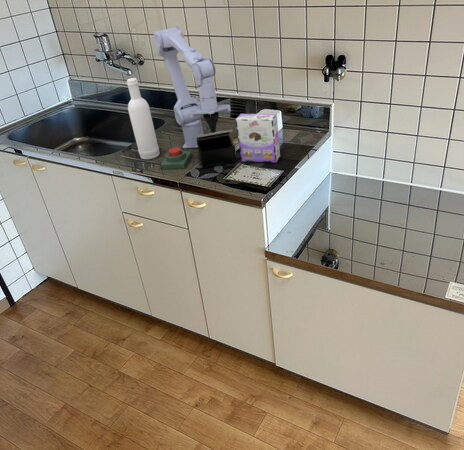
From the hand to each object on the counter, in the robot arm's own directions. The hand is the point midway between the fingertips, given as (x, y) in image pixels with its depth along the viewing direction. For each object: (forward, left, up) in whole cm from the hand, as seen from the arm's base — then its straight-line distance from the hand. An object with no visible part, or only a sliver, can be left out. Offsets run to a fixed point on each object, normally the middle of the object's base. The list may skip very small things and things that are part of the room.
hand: (213, 132), depth 170 cm
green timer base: (+2, -15, -10) cm, 18 cm away
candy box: (+2, +17, -10) cm, 20 cm away
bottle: (-5, -28, -10) cm, 31 cm away
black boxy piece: (+1, 0, -10) cm, 10 cm away
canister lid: (0, 0, -1) cm, 1 cm away
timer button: (+2, -15, -7) cm, 17 cm away
